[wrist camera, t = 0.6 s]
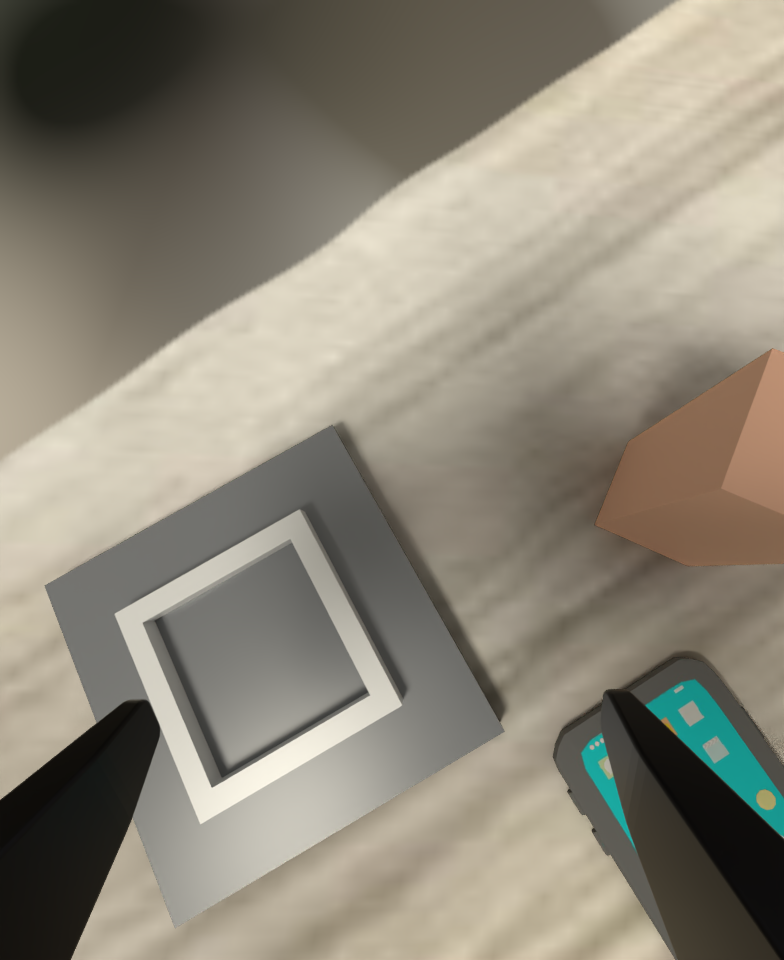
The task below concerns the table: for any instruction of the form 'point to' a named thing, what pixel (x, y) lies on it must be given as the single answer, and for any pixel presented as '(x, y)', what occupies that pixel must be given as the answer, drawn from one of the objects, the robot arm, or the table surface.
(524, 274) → the table surface
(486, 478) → the table surface
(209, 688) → the dock board
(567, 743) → the smartphone
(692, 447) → the terracotta block
